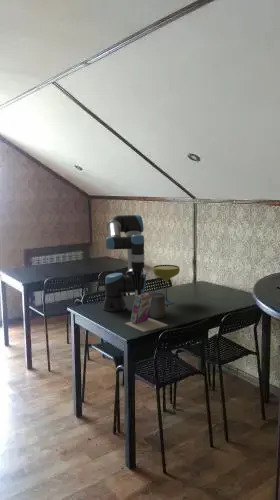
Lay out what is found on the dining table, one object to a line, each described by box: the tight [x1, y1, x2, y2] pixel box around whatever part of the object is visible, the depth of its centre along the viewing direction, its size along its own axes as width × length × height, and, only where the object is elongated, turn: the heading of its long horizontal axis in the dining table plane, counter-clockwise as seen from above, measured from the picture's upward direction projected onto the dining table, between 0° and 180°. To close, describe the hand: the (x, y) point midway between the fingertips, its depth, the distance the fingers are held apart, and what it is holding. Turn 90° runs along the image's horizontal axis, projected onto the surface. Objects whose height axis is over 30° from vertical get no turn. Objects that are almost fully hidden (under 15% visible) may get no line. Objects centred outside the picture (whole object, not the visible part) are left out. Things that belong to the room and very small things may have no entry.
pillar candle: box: [149, 292, 166, 319], centre depth 277 cm, size 10×10×15 cm
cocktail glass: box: [152, 264, 180, 306], centre depth 307 cm, size 18×18×25 cm
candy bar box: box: [129, 292, 153, 324], centre depth 263 cm, size 11×5×16 cm, turn 139°
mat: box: [124, 317, 169, 333], centre depth 260 cm, size 18×18×1 cm
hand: (138, 300), depth 264 cm, fingers closed
